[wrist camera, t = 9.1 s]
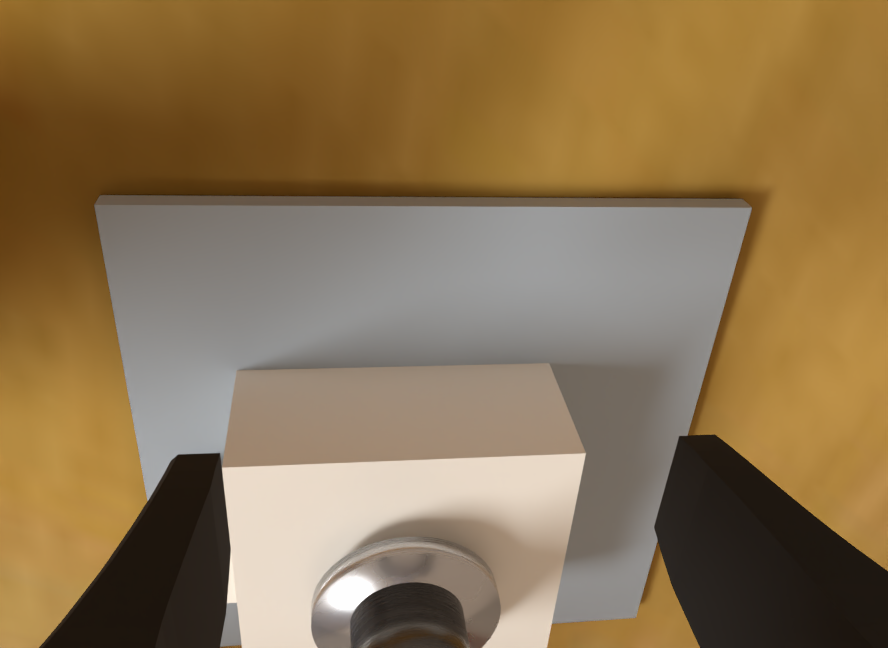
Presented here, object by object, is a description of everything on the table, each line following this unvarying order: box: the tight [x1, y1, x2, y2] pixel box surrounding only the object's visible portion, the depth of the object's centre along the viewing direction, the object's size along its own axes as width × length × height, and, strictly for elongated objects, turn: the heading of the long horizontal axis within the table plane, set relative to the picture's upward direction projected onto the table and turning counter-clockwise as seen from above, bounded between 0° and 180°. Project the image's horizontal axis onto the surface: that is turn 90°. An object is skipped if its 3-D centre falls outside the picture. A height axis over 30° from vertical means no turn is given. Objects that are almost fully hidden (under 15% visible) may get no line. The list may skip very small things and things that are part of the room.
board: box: [94, 195, 752, 647], centre depth 26 cm, size 17×17×1 cm
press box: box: [222, 363, 586, 648], centre depth 24 cm, size 9×11×4 cm
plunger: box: [311, 537, 501, 648], centre depth 22 cm, size 5×5×8 cm
